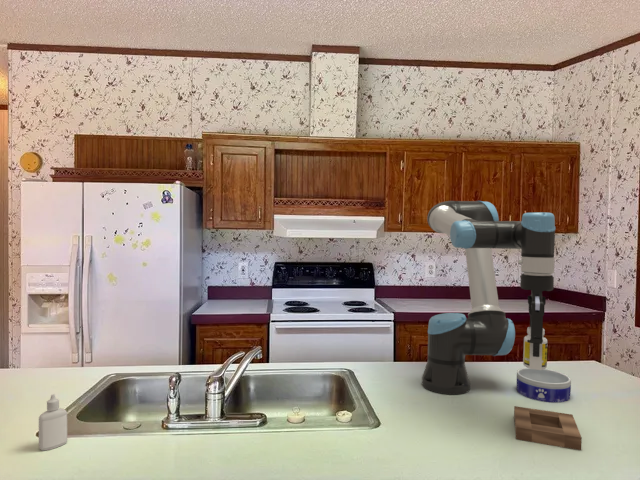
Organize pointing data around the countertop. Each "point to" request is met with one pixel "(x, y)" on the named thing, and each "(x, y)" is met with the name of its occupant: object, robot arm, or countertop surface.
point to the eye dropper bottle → (52, 426)
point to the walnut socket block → (547, 427)
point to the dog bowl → (543, 385)
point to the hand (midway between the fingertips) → (535, 365)
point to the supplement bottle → (527, 350)
